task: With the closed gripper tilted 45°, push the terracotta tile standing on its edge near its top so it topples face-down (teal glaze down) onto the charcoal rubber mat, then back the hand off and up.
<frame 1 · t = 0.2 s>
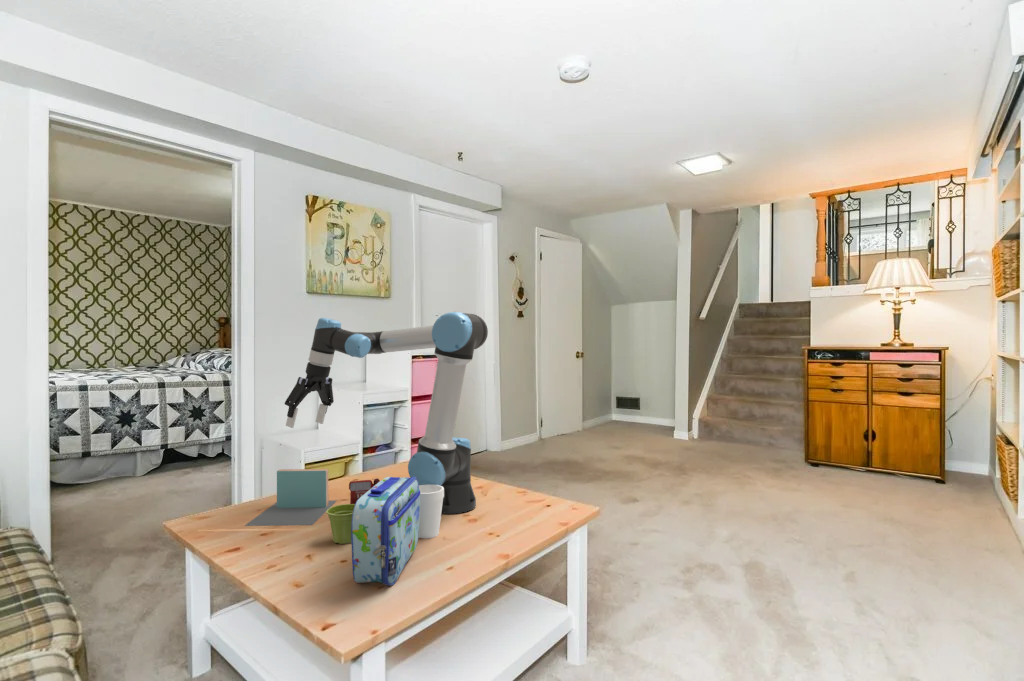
hand: (304, 424, 177), 27 cm above the table, tool pointing down, fingers open, 13 cm apart
terracotta tile: (302, 506, 174), point 1 cm above the table, touching rubber mat
plant pot: (344, 541, 146), on the table
rubber mat: (294, 514, 168), on the table
foam cup: (427, 534, 150), on the table
lunch box: (388, 568, 129), on the table
toy fire truck: (369, 512, 171), on the table
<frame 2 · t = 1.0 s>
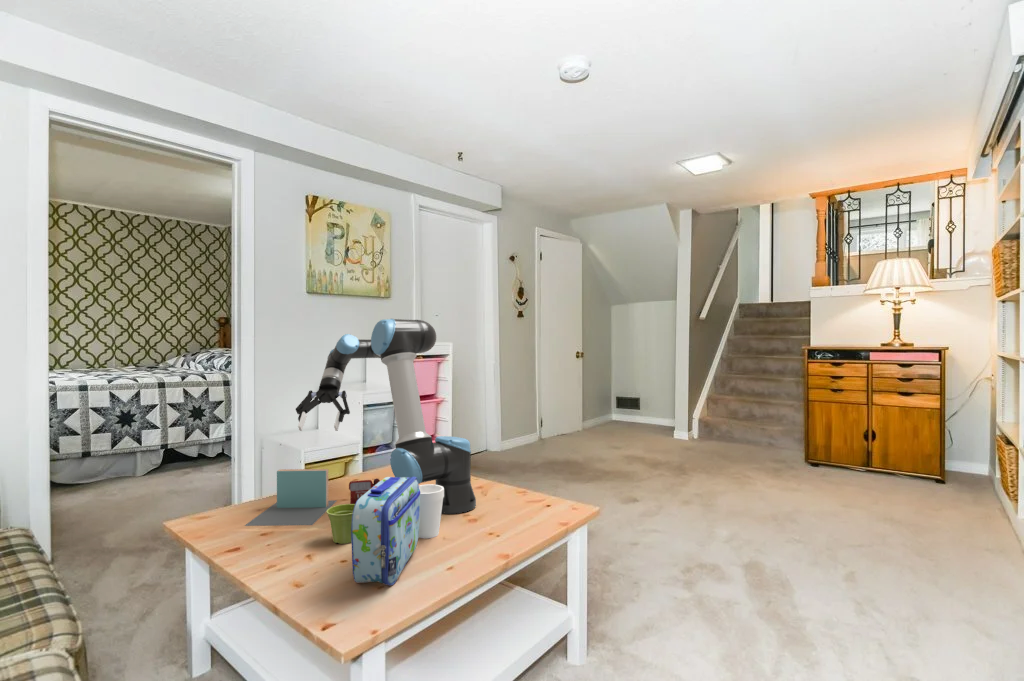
hand: (317, 428, 189), 24 cm above the table, tool tilted 45°, fingers open, 12 cm apart
nothing on the table moved.
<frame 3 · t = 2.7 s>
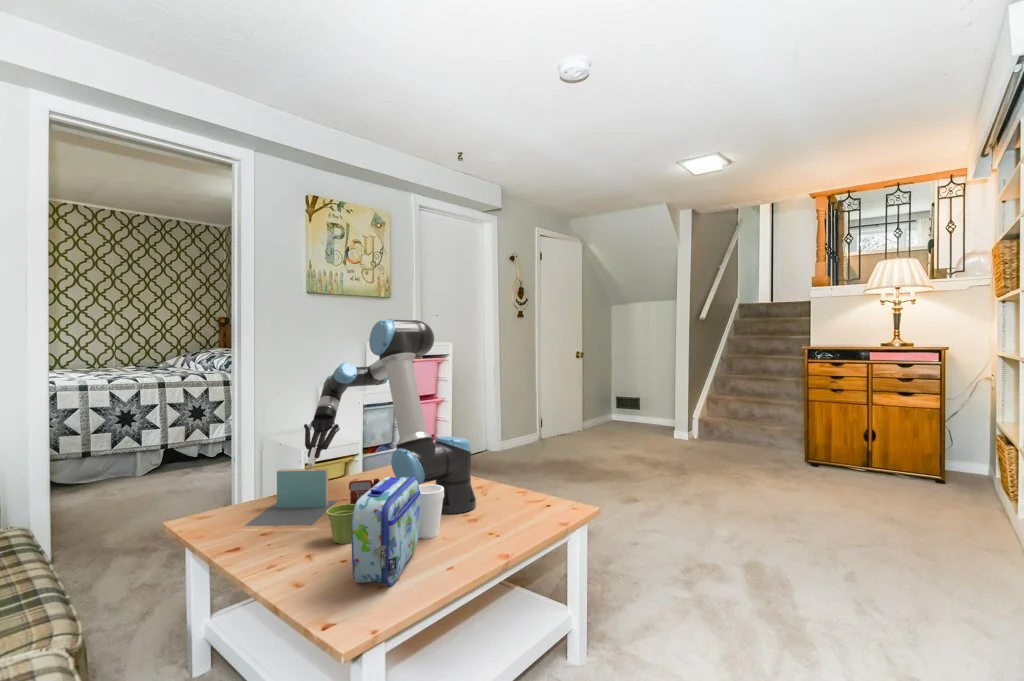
hand: (310, 465, 183), 12 cm above the table, tool tilted 45°, fingers closed
nothing on the table moved.
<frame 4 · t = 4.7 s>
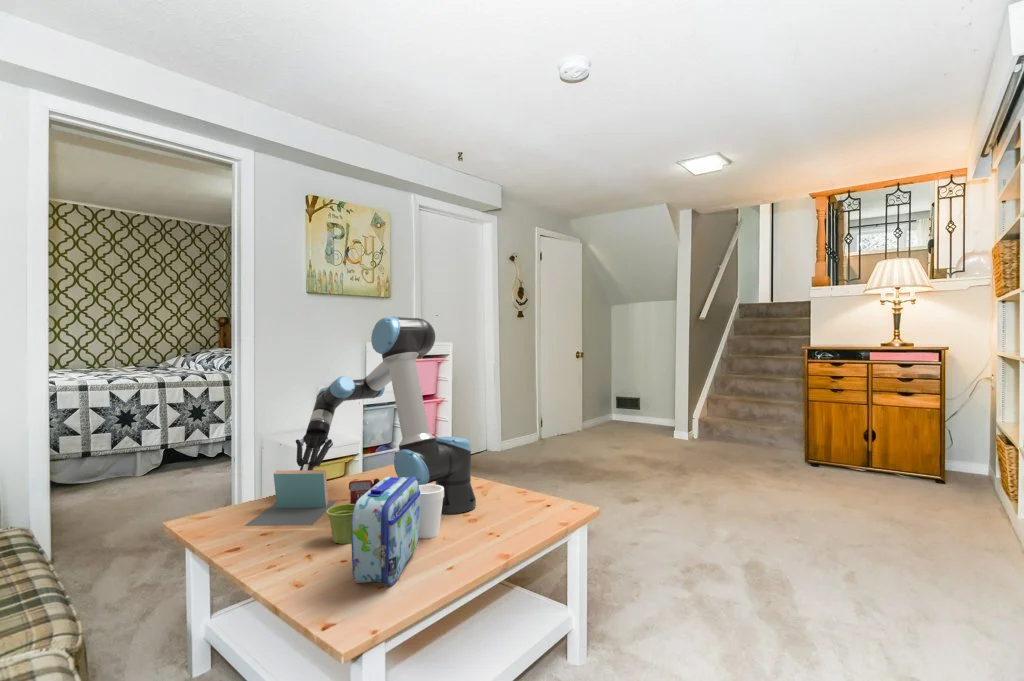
hand: (302, 483, 175), 8 cm above the table, tool tilted 45°, fingers closed
terracotta tile: (302, 505, 174), point 1 cm above the table, tilted 12°, touching rubber mat
everything else where it was.
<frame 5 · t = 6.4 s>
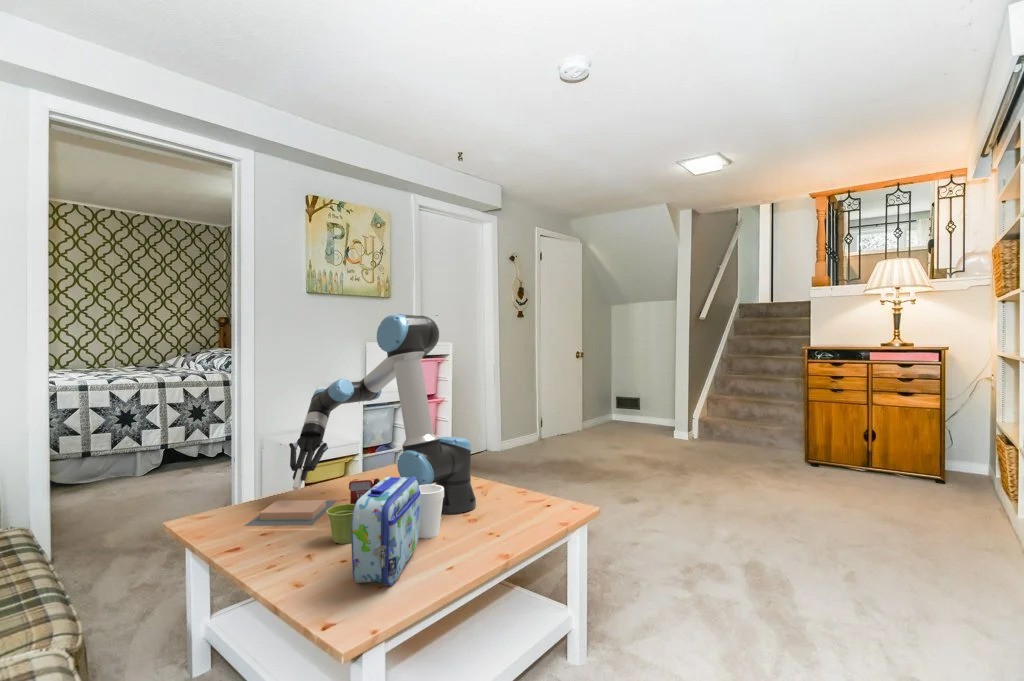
hand: (295, 488, 168), 8 cm above the table, tool tilted 45°, fingers closed
terracotta tile: (301, 504, 173), point 2 cm above the table, tilted 90°, touching rubber mat
everything else where it was.
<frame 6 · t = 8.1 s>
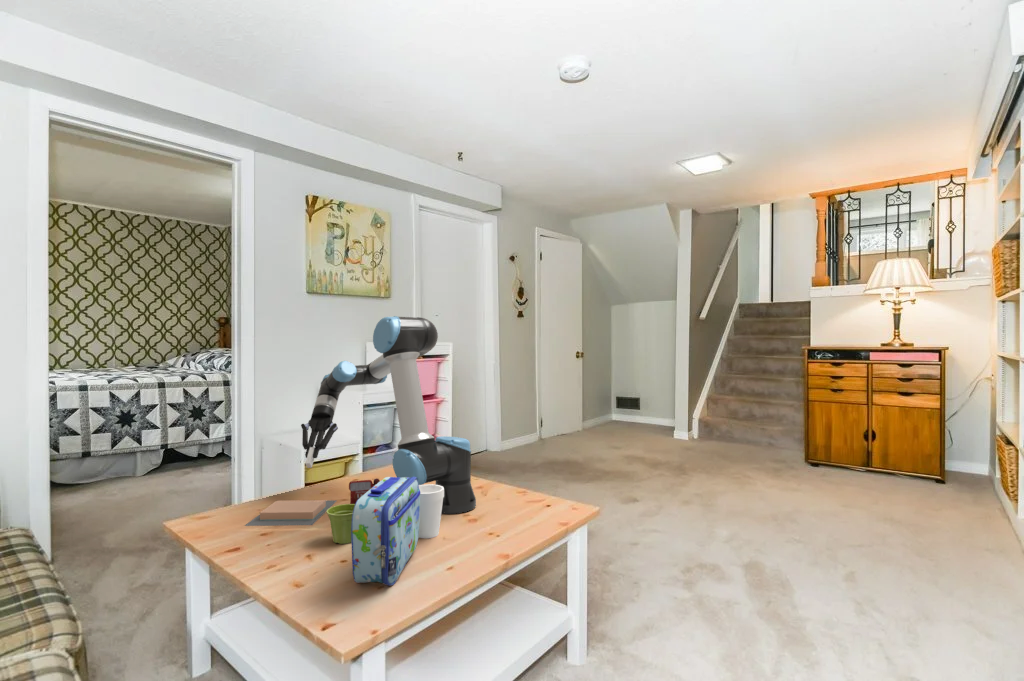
hand: (308, 465, 178), 13 cm above the table, tool tilted 45°, fingers closed
nothing on the table moved.
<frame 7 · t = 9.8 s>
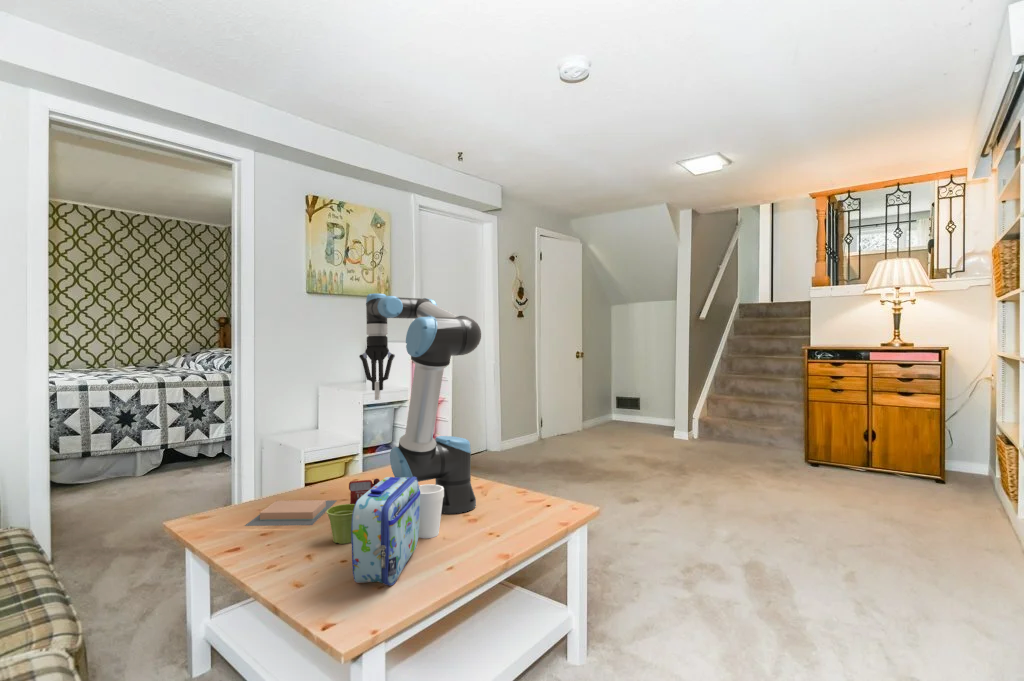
hand: (377, 399, 194), 34 cm above the table, tool pointing down, fingers closed
nothing on the table moved.
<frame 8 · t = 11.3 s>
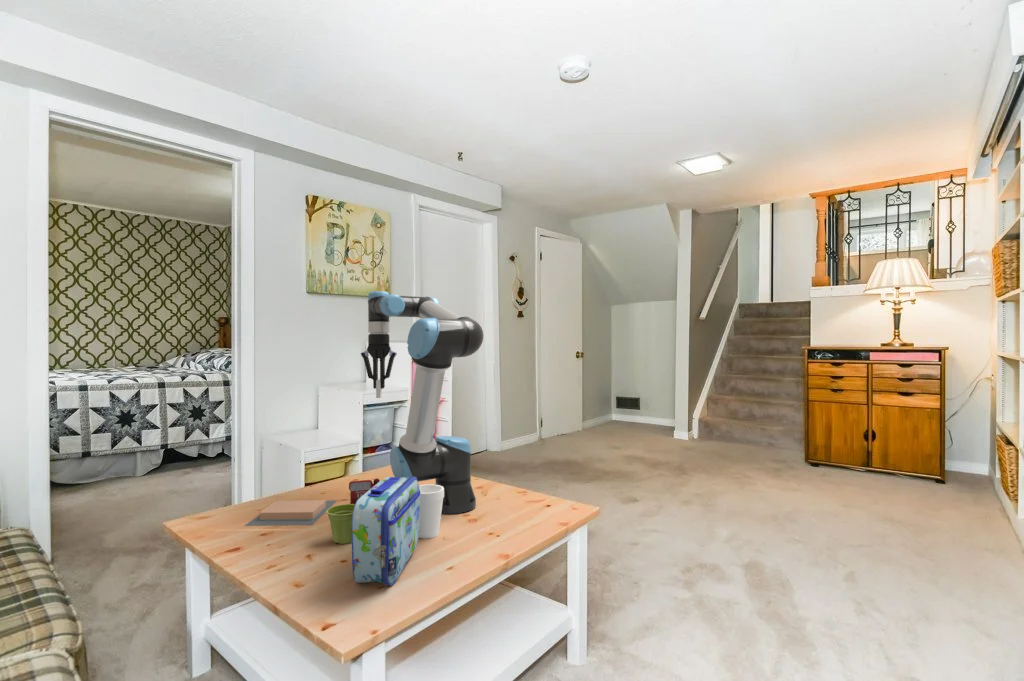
hand: (379, 397, 194), 34 cm above the table, tool pointing down, fingers closed
nothing on the table moved.
at the end: terracotta tile tilted 90°; terracotta tile inside the target area on the rubber mat (0.3 cm from its centre), point 1.8 cm above the rubber mat's base; the gripper is holding nothing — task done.
